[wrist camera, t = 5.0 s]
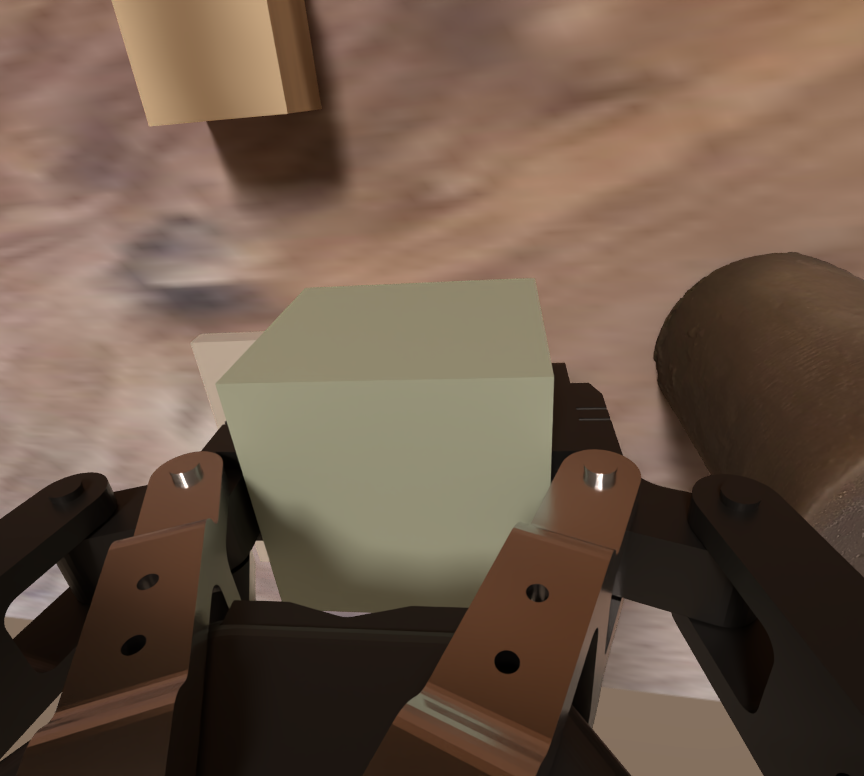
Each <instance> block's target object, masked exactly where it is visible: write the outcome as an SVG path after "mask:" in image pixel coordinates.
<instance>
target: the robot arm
mask: <svg viewBox="0 0 864 776" xmlns="http://www.w3.org/2000/svg"><path fill="white" fill-rule="evenodd" d="M551 364H552V369H553V374H554V393H553V424H552V455H551V485H550V487H549V489H548V491H547V493H546V495H545V497H544V498H543V500H542V502H541V504H540V506H539V508H538V510H537V512H536V514H535V516H534V518H533V520H532V522H531V523H530V525H529V524H526V523H523V522H518V523H517V524H516V525H515V526H514V527H513V529H512V530H511V532H510V534H509V536H508V537H507V539H506V541H505V543H504V545H503V547H502V548H501V550H500V552H499V554H498V556H497V557H496V559H495V561H494V563H493V565H492V566H491V568H490V570H489V572H488V574H487V575H486V577H485V579H484V581H483V583H482V585H481V586H480V588H479V590H478V592H477V594H476V595H475V597H474V599H473V601H472V603H471V604H470V606H469V608H462V607H431V606H408V607H403V608H397V609H392V610H387V611H381V612H376V613H370V614H365V615H360V616H354V617H340V616H337V615H333V614H330V613H326V612H323V611H319V610H316V609H313V608H309V607H306V606H302V605H299V604H295V603H292V602H278V601H256V593H255V558H254V555H253V552H252V548H253V546H254V544H255V542H256V541H263V538H262V535H261V532H260V528H259V525H258V522H257V519H256V515H255V512H254V509H253V506H252V502H251V499H250V496H249V493H248V489H247V486H246V483H245V480H244V476H243V473H242V470H241V467H240V463H239V460H238V457H237V453H236V450H235V447H234V444H233V440H232V437H231V434H230V431H229V427H228V424H227V421H225V424H223V425H222V426H221V427H220V428H219V430H218V431H217V432H216V433H215V435H214V436H213V437H212V438H211V440H210V441H209V442H208V443H207V444H206V446H205V447H204V448H203V449H202V451H200V452H192V453H187V454H184V455H181V456H178V457H176V458H173V459H171V460H169V461H167V462H166V463H164V464H163V465H161V466H160V467H159V468H158V469H156V471H155V472H154V473H153V474H152V475H151V477H150V480H149V483H148V485H146V486H141V487H136V488H131V489H126V490H121V491H116V492H113V491H112V488H111V486H110V484H109V482H108V480H107V478H106V477H105V476H104V475H102V474H100V473H93V472H91V473H80V474H76V475H72V476H69V477H66V478H63V479H61V480H58V481H56V482H54V483H52V484H50V485H48V486H47V487H45V488H44V489H42V490H41V491H39V492H38V493H36V494H35V495H34V496H32V497H31V498H29V499H28V500H26V501H25V502H24V503H22V504H21V505H19V506H18V507H17V508H15V509H14V510H12V511H11V512H10V513H8V514H7V515H5V516H4V517H3V518H1V519H0V759H1V758H2V757H3V755H4V754H5V753H6V752H7V751H8V750H9V749H10V748H11V747H12V745H13V744H14V743H15V742H16V741H17V740H18V739H19V738H20V737H21V736H22V735H23V734H24V733H25V731H26V730H27V729H28V728H29V727H30V726H31V725H32V724H33V723H34V722H35V721H36V719H37V718H38V717H39V716H40V715H41V714H42V713H43V712H44V711H45V710H46V708H47V707H48V706H49V705H50V704H51V703H52V702H53V701H54V700H55V699H56V698H57V697H58V695H59V694H60V693H61V692H62V693H61V697H60V699H59V703H58V706H57V709H56V711H55V714H54V716H53V718H52V719H51V720H50V722H49V723H48V724H47V725H45V726H43V727H42V728H40V729H39V730H38V731H37V732H36V733H35V734H34V736H33V737H32V739H31V740H30V741H28V742H27V743H25V744H24V745H23V746H21V747H20V748H18V749H17V750H16V751H14V752H13V753H12V754H10V755H9V756H7V757H6V758H5V759H3V760H2V761H0V776H631V775H630V774H629V772H628V771H627V770H626V769H625V768H624V766H623V765H622V764H621V763H620V762H619V761H618V759H617V758H616V757H615V756H614V755H613V753H612V752H611V751H610V750H609V749H608V747H607V746H606V745H605V744H604V743H603V741H602V740H601V739H600V738H599V737H598V735H597V734H596V733H595V732H594V731H593V729H592V728H593V724H594V719H595V715H596V711H597V706H598V702H599V697H600V691H601V686H602V681H603V676H604V672H605V668H606V664H607V660H608V657H609V653H610V649H611V646H612V642H613V638H614V635H615V631H616V628H617V624H618V620H619V617H620V613H621V609H622V606H623V602H624V598H625V599H629V600H632V601H635V602H639V603H642V604H646V605H649V606H652V607H656V608H659V609H662V610H666V611H669V612H671V613H672V616H673V619H674V621H675V622H676V624H677V626H678V628H679V629H680V631H681V633H682V635H683V636H684V638H685V640H686V642H687V643H688V645H689V647H690V649H691V650H692V652H693V654H694V655H695V657H696V659H697V661H698V662H699V664H700V666H701V668H702V669H703V671H704V673H705V675H706V676H707V678H708V680H709V682H710V683H711V685H712V687H713V688H714V690H715V692H716V694H717V695H718V697H719V699H720V701H721V702H722V704H723V706H724V708H725V709H726V711H727V713H728V715H729V716H730V718H731V720H732V721H733V723H734V725H735V727H736V728H737V730H738V732H739V734H740V735H741V737H742V739H743V741H744V742H745V744H746V746H747V748H748V749H749V751H750V753H751V754H752V756H753V758H754V760H755V761H756V763H757V765H758V767H759V768H760V770H761V772H762V773H763V775H764V776H864V577H863V576H862V575H861V574H860V573H859V572H858V571H857V570H856V569H855V568H854V567H853V566H852V565H851V564H850V563H849V562H848V561H847V560H846V559H845V558H844V557H843V556H842V555H841V554H840V553H839V552H837V551H836V550H835V549H834V548H833V547H832V546H831V545H830V544H829V543H828V542H827V541H826V540H825V539H824V538H823V537H822V536H821V535H820V534H819V533H818V532H817V531H816V530H815V529H814V528H813V527H812V526H811V525H810V524H809V523H808V522H807V521H806V520H805V519H804V518H803V517H802V516H801V515H800V514H799V513H798V512H797V511H796V510H795V509H794V508H793V507H792V506H791V505H790V504H788V503H787V502H786V501H785V500H784V499H783V498H782V497H781V496H780V495H779V494H778V493H777V492H776V491H774V490H773V489H771V488H770V487H768V486H767V485H765V484H763V483H761V482H758V481H756V480H753V479H750V478H747V477H743V476H738V475H731V474H716V475H710V476H707V477H704V478H702V479H700V480H699V481H698V482H696V483H695V485H694V487H693V490H692V493H689V492H684V491H679V490H675V489H670V488H666V487H662V486H658V485H655V484H653V483H650V482H648V481H646V480H644V479H642V478H641V473H640V470H639V468H638V467H637V466H636V465H635V464H634V463H633V462H632V461H631V460H629V459H628V458H626V457H624V456H623V454H622V451H621V449H620V446H619V443H618V440H617V437H616V434H615V431H614V428H613V425H612V422H611V420H610V416H609V413H608V410H607V409H606V404H605V401H604V398H603V395H602V394H601V393H600V392H599V391H598V390H597V389H595V388H594V387H593V386H592V385H591V384H590V383H570V381H569V377H568V373H567V369H566V365H565V363H551ZM55 564H57V566H58V567H59V569H60V571H61V573H62V574H63V576H64V578H65V580H66V581H67V583H68V585H69V588H68V589H67V590H66V591H65V592H63V593H62V594H61V595H60V596H59V597H58V598H57V599H56V600H55V601H54V602H53V603H52V604H50V605H49V606H48V607H47V608H46V609H45V610H44V611H43V612H42V613H41V614H40V615H38V616H37V617H36V618H35V619H34V620H33V621H32V622H31V623H30V624H29V625H28V626H27V627H25V628H24V629H23V630H22V631H21V632H20V633H19V634H18V635H17V636H16V637H15V638H14V639H12V638H11V636H10V635H9V633H8V632H7V630H6V628H5V625H4V618H5V614H6V611H7V609H8V607H9V606H10V604H11V603H12V602H13V600H14V599H15V598H16V597H17V596H19V595H20V594H21V593H22V592H23V591H24V590H26V589H27V588H28V587H29V586H30V585H31V584H33V583H34V582H35V581H36V580H37V579H38V578H40V577H41V576H42V575H43V574H44V573H45V572H47V571H48V570H49V569H50V568H51V567H52V566H54V565H55Z"/></svg>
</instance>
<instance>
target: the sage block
mask: <svg viewBox="0 0 864 776" xmlns="http://www.w3.org/2000/svg"><path fill="white" fill-rule="evenodd" d="M215 385H216V388H217V392H218V395H219V398H220V401H221V405H222V408H223V411H224V414H225V418H226V421H227V424H228V427H229V431H230V434H231V437H232V440H233V444H234V447H235V450H236V453H237V457H238V460H239V463H240V467H241V470H242V473H243V476H244V480H245V483H246V486H247V489H248V493H249V496H250V499H251V502H252V506H253V509H254V512H255V515H256V519H257V522H258V525H259V528H260V532H261V535H262V538H263V541H264V545H265V548H266V551H267V554H268V558H269V561H270V564H271V567H272V571H273V574H274V577H275V580H276V584H277V587H278V590H279V593H280V597H281V600H282V602H292V603H295V604H299V605H302V606H306V607H309V608H313V609H316V610H319V611H340V612H369V613H376V612H381V611H387V610H392V609H397V608H403V607H408V606H431V607H462V608H469V606H470V604H471V603H472V601H473V599H474V597H475V595H476V594H477V592H478V590H479V588H480V586H481V585H482V583H483V581H484V579H485V577H486V575H487V574H488V572H489V570H490V568H491V566H492V565H493V563H494V561H495V559H496V557H497V556H498V554H499V552H500V550H501V548H502V547H503V545H504V543H505V541H506V539H507V537H508V536H509V534H510V532H511V530H512V529H513V527H514V526H515V525H516V524H517V523H518V522H523V523H526V524H529V525H530V523H531V522H532V520H533V518H534V516H535V514H536V512H537V510H538V508H539V506H540V504H541V502H542V500H543V498H544V497H545V495H546V493H547V491H548V489H549V487H550V485H551V455H552V424H553V393H554V374H553V369H552V364H551V359H550V354H549V349H548V343H547V338H546V333H545V328H544V323H543V318H542V313H541V308H540V302H539V297H538V292H537V287H536V282H535V278H520V279H497V280H474V281H452V282H429V283H406V284H383V285H361V286H338V287H315V288H305V289H304V290H303V291H302V292H301V293H300V294H299V295H298V296H297V297H296V298H295V300H294V301H293V302H292V303H291V304H290V305H289V306H288V307H287V308H286V309H285V310H284V311H283V312H282V313H281V314H280V315H279V317H278V318H277V319H276V320H275V321H274V322H273V323H272V324H271V325H270V326H269V327H268V328H267V329H266V330H265V331H264V333H263V334H262V335H261V336H260V337H259V338H258V339H257V340H256V341H255V342H254V343H253V344H252V345H251V346H250V347H249V348H248V350H247V351H246V352H245V353H244V354H243V355H242V356H241V357H240V358H239V359H238V360H237V361H236V362H235V363H234V364H233V365H232V367H231V368H230V369H229V370H228V371H227V372H226V373H225V374H224V375H223V376H222V377H221V378H220V379H219V380H218V381H217V382H216V384H215Z"/></svg>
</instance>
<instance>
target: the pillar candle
mask: <svg viewBox="0 0 864 776" xmlns="http://www.w3.org/2000/svg"><path fill="white" fill-rule="evenodd" d="M654 360H655V361H656V367H657V370H658V383H659V386H660V388H661V390H662V392H663V394H664V396H665V398H666V399H667V400H668V402H669V404H670V406H671V408H672V409H673V411H674V412H675V414H676V415H677V417H678V418H679V420H680V423H681V424H682V426H683V428H684V429H685V431H686V433H687V434H688V436H689V437H690V439H691V441H692V443H693V444H694V446H695V448H696V449H697V451H698V453H699V455H700V456H701V457H702V459H703V461H704V463H705V465H706V467H707V468H708V470H709V471H710V473H711V475H716V474H731V475H738V476H743V477H747V478H750V479H753V480H756V481H758V482H761V483H763V484H765V485H767V486H768V487H770V488H771V489H773V490H774V491H776V492H777V493H778V494H779V495H780V496H781V497H782V498H783V499H784V500H785V501H786V502H787V503H788V504H790V505H791V506H792V507H793V508H794V509H795V510H796V511H797V512H798V513H799V514H800V515H801V516H802V517H803V518H804V519H805V520H806V521H807V522H808V523H809V524H810V525H811V526H812V527H813V528H814V529H815V530H816V531H817V532H818V533H819V534H820V535H821V536H822V537H823V538H824V539H825V540H826V541H827V542H828V543H829V544H830V545H831V546H832V547H833V548H834V549H835V550H836V551H837V552H839V553H840V554H841V555H842V556H843V557H844V558H845V559H846V560H847V561H848V562H849V563H850V564H851V565H852V566H853V567H854V568H855V569H856V570H857V571H858V572H859V573H860V574H861V575H862V576H863V577H864V280H863V279H861V278H859V277H856V276H854V275H853V274H851V273H850V272H848V271H846V270H844V269H841V268H838V267H836V266H834V265H832V264H830V263H828V262H825V261H821V260H819V259H816V258H813V257H809V256H806V255H802V254H799V253H796V252H788V253H772V254H765V255H759V256H754V257H750V258H745V259H742V260H739V261H736V262H733V263H730V264H729V265H726V266H723V267H721V268H719V269H717V270H715V271H714V272H712V273H710V275H708V276H707V277H704V278H703V279H701V280H700V281H699V282H698V283H696V284H695V285H694V286H693V287H692V288H691V289H690V290H688V291H687V292H686V293H685V295H684V297H683V298H680V300H679V301H678V302H677V303H676V305H675V306H674V307H673V309H672V310H671V312H670V314H669V315H668V316H667V318H666V320H665V322H664V325H663V327H662V328H661V332H660V334H659V336H658V339H657V342H656V346H655V351H654Z"/></svg>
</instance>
